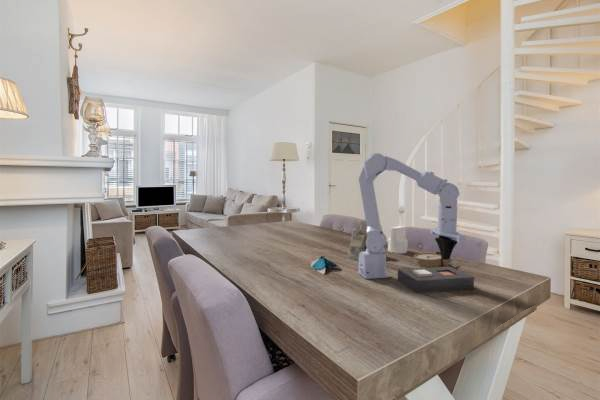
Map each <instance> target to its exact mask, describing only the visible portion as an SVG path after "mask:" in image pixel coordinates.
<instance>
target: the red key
mask: <svg viewBox="0 0 600 400" xmlns="http://www.w3.org/2000/svg"><path fill="white" fill-rule="evenodd" d="M439 273H441V274H443V275H455V274H452V273H450V272H439Z"/></svg>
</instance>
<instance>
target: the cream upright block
mask: <svg viewBox="0 0 600 400" xmlns="http://www.w3.org/2000/svg"><path fill="white" fill-rule="evenodd" d="M406 228H407V227H406V226H405V225H398V226H393V227H392V226H391V227H390V237H388V243H387V244H388V245H387V251H388V252H389V251H390V252H389V253H392V252H394V253H393V254H407V253H408V246H409V244H408V243H409V240H408V239H407V238H406V234H407V233H406V232H407V229H406ZM406 252H407V253H406Z"/></svg>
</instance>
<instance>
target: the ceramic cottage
mask: <svg viewBox="0 0 600 400" xmlns="http://www.w3.org/2000/svg"><path fill="white" fill-rule="evenodd" d="M357 231H358V230H357V229H355V228H353V229H352V233H351V240H350V243H349V248H348V250H347V253H346V258H347V259H350V260H356V261H359V254H360V252H364V251H366V249H367V247H366V239H367V228H365V226H364V224H363V223H360V225H359V231H358V232H357ZM387 244H388V243H386V244H385V245H384V248H385V249H386V250H388V245H387ZM387 258H388V256H387V253H386V259H387Z"/></svg>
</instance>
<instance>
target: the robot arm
mask: <svg viewBox="0 0 600 400" xmlns="http://www.w3.org/2000/svg"><path fill="white" fill-rule="evenodd" d="M384 171H395V172H396V173H397V172H398V173H400V174H401V175H404V176H406V177H408V178H410V179H412V180H414V181H416V185H417V187H419V188H421V189H423V190H424V191H427V192H428V193H430V194H433V196H434V195H435V196H436V195H438V197H439V202H438V203H439V204H438V206H437V228H430V234H431V235H434V236H438V237H435V238H434V240H435V242H436V243H437V246H438V249H439V252H440V253H441V258H442V259H444V260H450V257H451V255H452V253H453V251H454V249H455V247H456V245H457V244H458V243H465V237H466V236H465V235H462V234H460V233H459V232H458V231H457V227H458V226H457V225H458V223H457V222H458V221H457V220H458V205H457V204H458V198H459V196H460V192H459V191H460V190H459V188H458V186H456V184H454V183H451V182H448V180H449V179H446V178H444V179H443V178H441V177H439V176H437V175H435V172H433V171H430V172H429V171H428V170H426V171H423V172H420V171H418V170H416V169H415V168H413V167H411V166H409V165H407V164H406V163H403V162H401V161H400V160H398V159H395V158H392V157H390V156H387V155H385V156H384V155H383V154H382V153H377V152H376V153H373V154H371V155H369V156H368V158H366V159H365V161H364V164H363V166H362V170H361V172H360V175H359V177H358V183H359V188H360V189H359V190H360V193H361V200H362V206H363V207H362V208H363V211H364V216H365V218H364V219H365V222H366V230H367V239H366V247H367V249H366V251H364V252H360V254H359V260H358V269H357V273H358V274H359V275H360V276H362V277H363V278H364V279H368V280H369V279H383V278H385V279H386V278H391V275H389V274H388V273H387V270H386V269H387V258H386V254H387V249H385V248H384V245H385V244H387V237H386V234H385V233H384V231H383V228H382V225H381V221H380V214H379V209H378V204H377V198H376V197H377V196H376V192H375V186H374V181H375V180H376V178H377V177H378V176H379V175H380V174H381V173H383V172H384Z"/></svg>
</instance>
